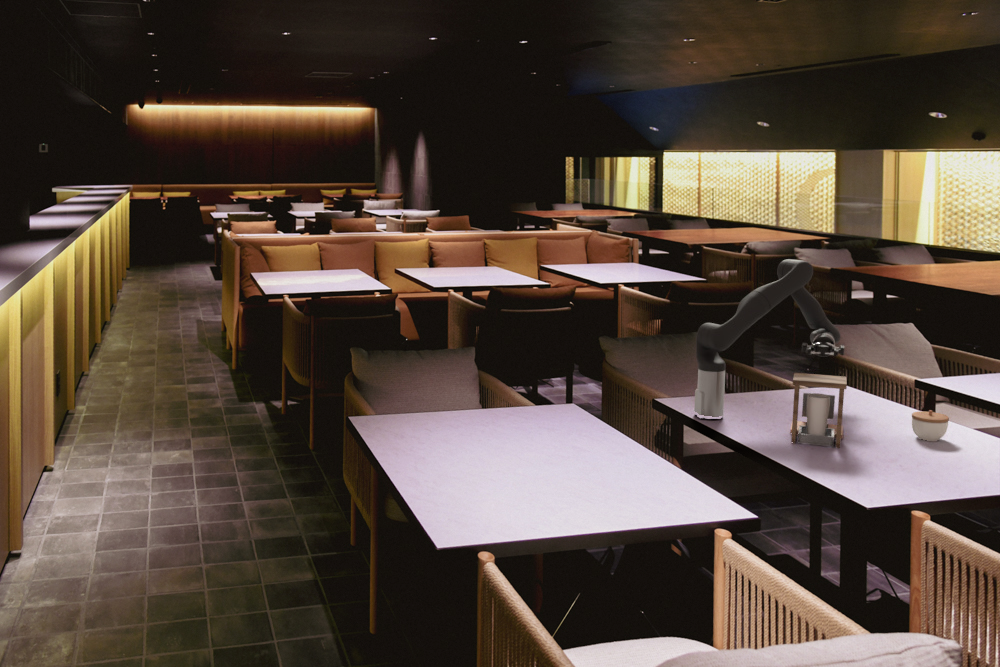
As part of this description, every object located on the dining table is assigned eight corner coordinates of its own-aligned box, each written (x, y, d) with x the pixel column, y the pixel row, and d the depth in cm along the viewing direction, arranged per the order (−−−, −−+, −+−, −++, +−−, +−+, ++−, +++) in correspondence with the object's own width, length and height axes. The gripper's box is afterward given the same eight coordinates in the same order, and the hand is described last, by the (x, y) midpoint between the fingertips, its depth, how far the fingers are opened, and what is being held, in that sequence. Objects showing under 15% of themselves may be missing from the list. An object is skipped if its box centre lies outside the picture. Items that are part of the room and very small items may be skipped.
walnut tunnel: (842, 449, 266) (846, 384, 263) (788, 443, 272) (792, 379, 268) (841, 439, 277) (846, 376, 273) (790, 434, 282) (794, 372, 279)
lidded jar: (912, 441, 274) (915, 413, 273) (907, 432, 285) (910, 405, 283) (950, 444, 271) (952, 415, 270) (943, 435, 282) (945, 407, 280)
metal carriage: (833, 446, 267) (835, 413, 266) (797, 442, 271) (799, 410, 269) (833, 426, 291) (835, 395, 289) (800, 422, 295) (802, 392, 293)
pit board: (842, 439, 277) (842, 434, 277) (790, 433, 283) (790, 429, 282) (842, 429, 288) (842, 425, 288) (791, 424, 294) (792, 420, 293)
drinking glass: (823, 438, 277) (826, 393, 275) (829, 444, 270) (832, 398, 268) (802, 438, 278) (805, 392, 275) (807, 444, 271) (810, 397, 269)
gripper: (803, 333, 311) (800, 340, 297) (845, 335, 306) (845, 343, 291) (802, 353, 313) (799, 361, 298) (844, 356, 308) (844, 364, 293)
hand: (822, 352), depth 295 cm, fingers open, 7 cm apart
